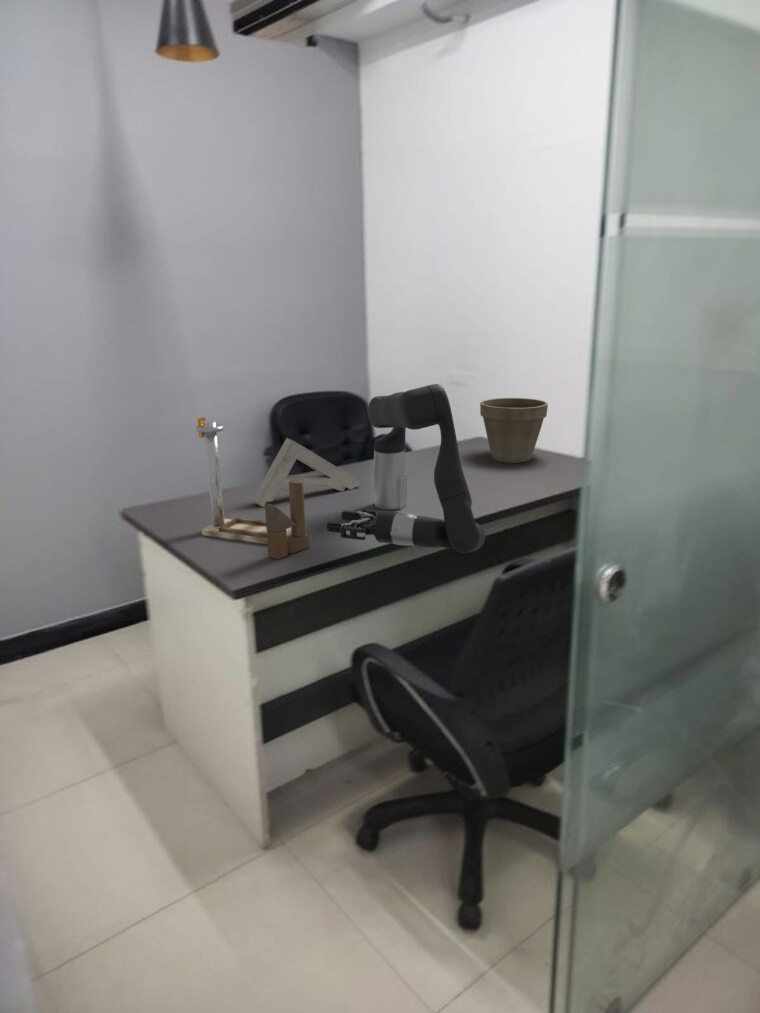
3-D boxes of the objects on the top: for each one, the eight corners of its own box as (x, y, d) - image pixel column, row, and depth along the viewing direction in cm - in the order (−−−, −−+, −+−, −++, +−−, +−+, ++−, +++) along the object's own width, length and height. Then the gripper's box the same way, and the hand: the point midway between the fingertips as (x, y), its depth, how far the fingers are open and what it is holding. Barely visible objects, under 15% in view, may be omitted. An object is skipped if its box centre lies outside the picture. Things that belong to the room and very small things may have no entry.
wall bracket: (330, 541, 224) (257, 504, 206) (323, 537, 227) (251, 500, 209) (362, 482, 225) (293, 440, 207) (355, 479, 229) (286, 437, 210)
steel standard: (236, 527, 190) (228, 417, 180) (222, 535, 184) (213, 422, 174) (215, 524, 192) (205, 415, 183) (200, 532, 186) (190, 420, 176)
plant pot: (471, 451, 271) (473, 397, 264) (531, 449, 273) (535, 395, 267) (487, 468, 247) (490, 408, 240) (553, 465, 250) (557, 406, 243)
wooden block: (267, 556, 169) (263, 487, 164) (299, 544, 177) (296, 477, 171) (277, 560, 167) (273, 490, 161) (309, 547, 175) (306, 480, 169)
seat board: (298, 533, 185) (298, 524, 184) (280, 546, 176) (280, 536, 175) (223, 523, 193) (222, 514, 192) (202, 535, 184) (201, 526, 184)
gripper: (407, 504, 164) (346, 497, 170) (387, 523, 152) (321, 515, 157) (407, 533, 167) (346, 525, 172) (387, 554, 154) (322, 545, 159)
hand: (334, 520), depth 165 cm, fingers open, 8 cm apart
